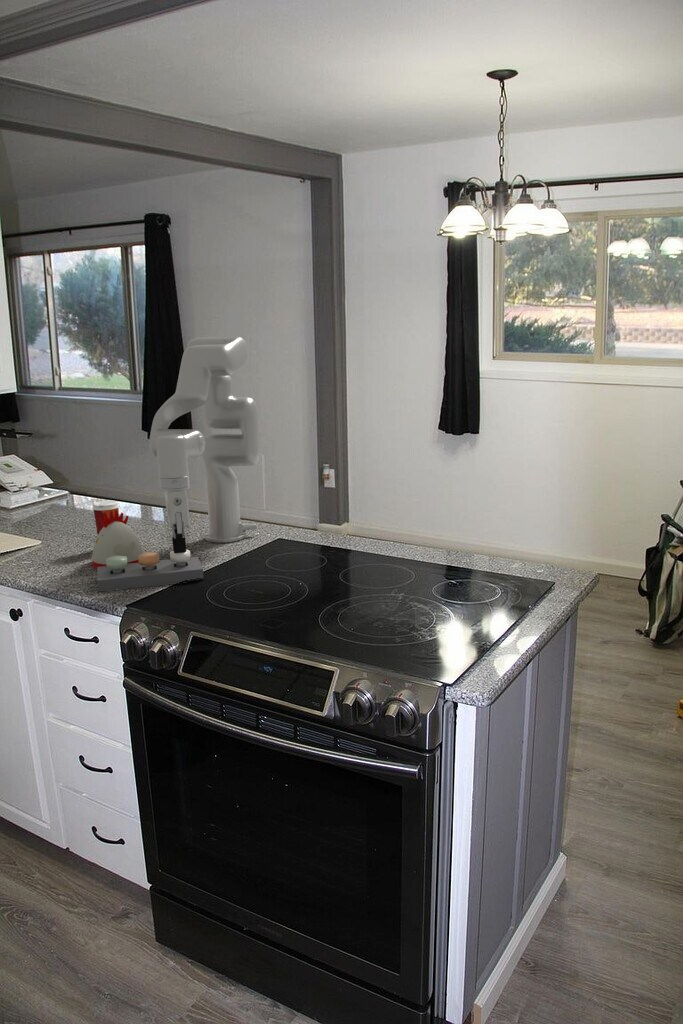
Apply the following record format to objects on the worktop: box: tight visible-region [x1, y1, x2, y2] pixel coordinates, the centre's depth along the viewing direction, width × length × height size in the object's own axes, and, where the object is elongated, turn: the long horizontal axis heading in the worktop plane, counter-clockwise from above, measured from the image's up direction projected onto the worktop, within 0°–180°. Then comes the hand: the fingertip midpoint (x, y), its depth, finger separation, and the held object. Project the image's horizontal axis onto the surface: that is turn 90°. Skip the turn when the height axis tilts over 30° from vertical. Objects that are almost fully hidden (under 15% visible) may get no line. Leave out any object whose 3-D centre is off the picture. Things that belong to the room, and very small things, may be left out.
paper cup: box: [92, 500, 120, 535], centre depth 248 cm, size 8×8×14 cm
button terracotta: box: [138, 552, 160, 570], centre depth 219 cm, size 5×5×5 cm
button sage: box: [106, 556, 128, 574], centre depth 217 cm, size 5×5×5 cm
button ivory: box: [169, 549, 191, 567], centre depth 221 cm, size 5×5×5 cm
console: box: [96, 556, 204, 592], centre depth 219 cm, size 26×12×3 cm, turn 106°
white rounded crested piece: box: [91, 510, 144, 569], centre depth 234 cm, size 14×14×15 cm
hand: (179, 551), depth 220 cm, fingers closed
